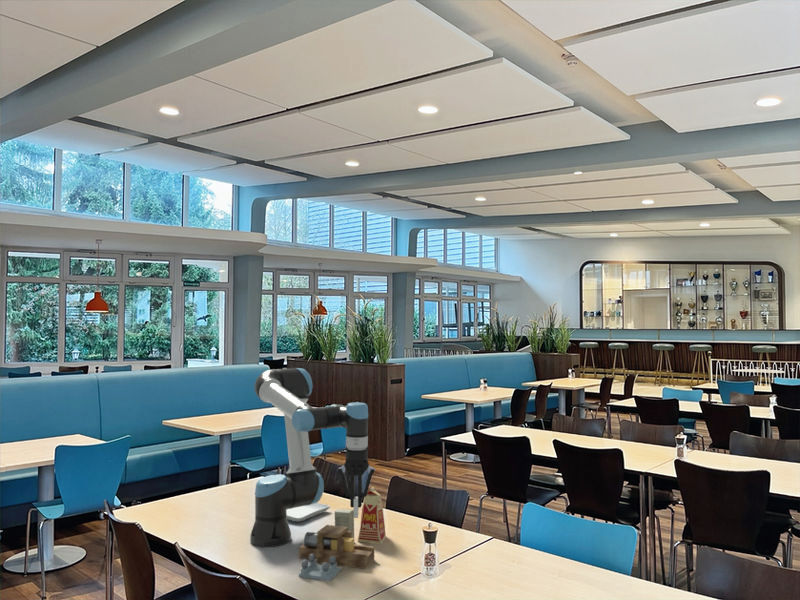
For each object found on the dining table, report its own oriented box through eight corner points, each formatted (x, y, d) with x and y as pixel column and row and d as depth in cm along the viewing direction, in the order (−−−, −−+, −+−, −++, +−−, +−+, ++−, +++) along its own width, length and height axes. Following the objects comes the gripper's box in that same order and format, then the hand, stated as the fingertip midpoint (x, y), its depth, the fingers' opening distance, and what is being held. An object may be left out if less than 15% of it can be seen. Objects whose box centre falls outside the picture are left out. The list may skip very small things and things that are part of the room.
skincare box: (354, 542, 238) (354, 509, 238) (350, 546, 234) (350, 512, 234) (339, 540, 240) (339, 507, 240) (334, 544, 236) (334, 511, 236)
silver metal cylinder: (303, 548, 221) (303, 534, 222) (310, 544, 226) (310, 530, 226) (330, 551, 218) (330, 536, 219) (336, 546, 223) (336, 532, 223)
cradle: (298, 576, 206) (298, 561, 206) (310, 566, 214) (310, 551, 215) (330, 580, 203) (330, 565, 203) (340, 570, 211) (340, 555, 211)
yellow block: (330, 551, 219) (330, 539, 219) (335, 547, 223) (335, 536, 223) (349, 553, 217) (349, 541, 217) (354, 549, 221) (354, 538, 221)
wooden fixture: (295, 559, 220) (295, 529, 221) (306, 551, 228) (306, 522, 229) (366, 568, 213) (366, 537, 213) (374, 559, 221) (374, 529, 221)
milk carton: (380, 543, 237) (381, 489, 237) (357, 541, 238) (357, 488, 239) (386, 535, 245) (386, 483, 246) (363, 533, 247) (363, 482, 248)
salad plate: (331, 512, 275) (331, 504, 276) (299, 526, 258) (299, 517, 258) (294, 504, 287) (294, 497, 287) (261, 517, 269) (261, 509, 269)
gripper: (336, 450, 216) (335, 519, 215) (375, 450, 216) (374, 520, 215) (339, 445, 223) (338, 512, 223) (376, 446, 223) (375, 513, 223)
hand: (355, 516), depth 219 cm, fingers closed
